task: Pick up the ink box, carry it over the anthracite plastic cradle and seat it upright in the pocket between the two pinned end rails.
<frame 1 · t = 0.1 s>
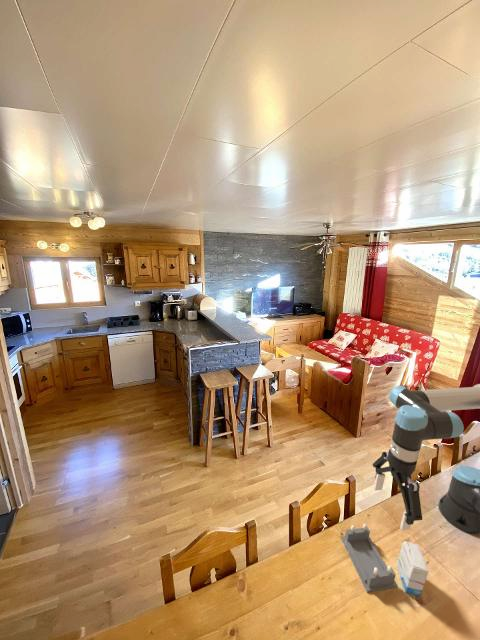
hand: (390, 507, 87), 28 cm above the table, fingers open, 13 cm apart
cradle: (366, 560, 96), on the table
ink box: (408, 580, 91), on the table
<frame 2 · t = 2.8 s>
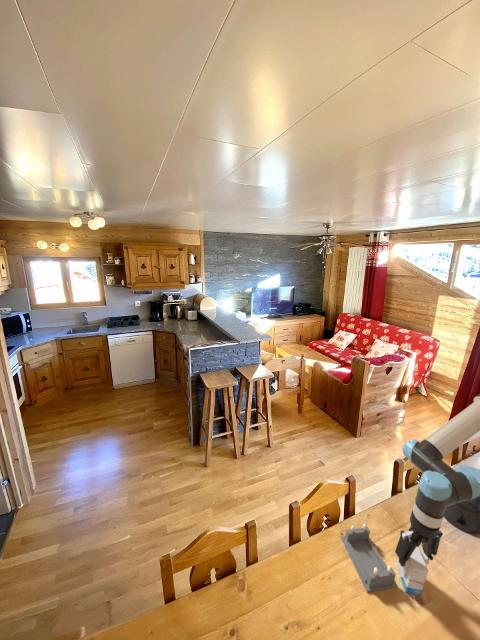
hand: (411, 569, 90), 5 cm above the table, fingers closed on ink box, 6 cm apart
ink box: (408, 579, 91), on the table, touching gripper
when the fingers open (7 cm above the table, at t = 6.7 s): ink box drops 1 cm, resting on cradle.
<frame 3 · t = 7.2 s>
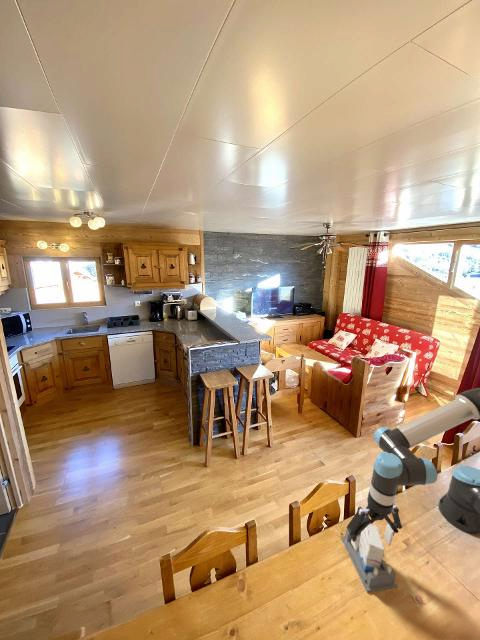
hand: (370, 543, 94), 8 cm above the table, fingers open, 12 cm apart
ink box: (367, 559, 96), point 1 cm above the table, touching cradle
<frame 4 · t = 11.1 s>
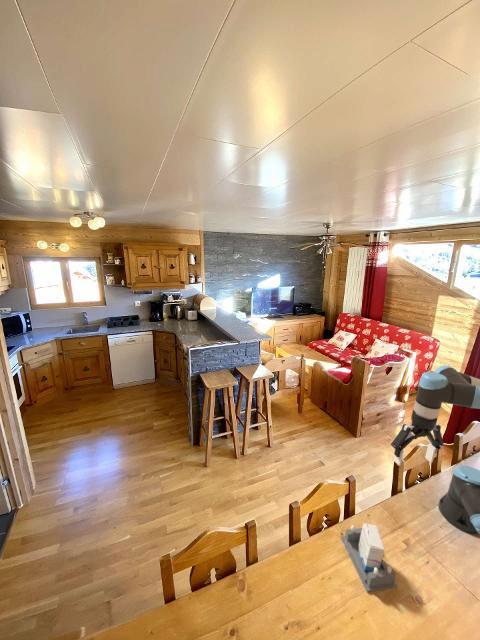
hand: (413, 461, 101), 32 cm above the table, fingers open, 13 cm apart
nothing on the table moved.
at the end: ink box 0.2 cm off-centre on the cradle, point 0.6 cm above the cradle's base; ink box tilted 0°; the gripper is holding nothing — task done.
